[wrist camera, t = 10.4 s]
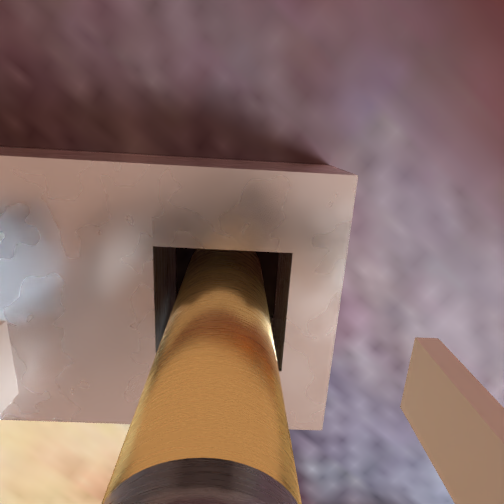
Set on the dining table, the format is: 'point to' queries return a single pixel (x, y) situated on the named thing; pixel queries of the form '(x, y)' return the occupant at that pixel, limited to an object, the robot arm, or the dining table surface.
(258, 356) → the lynch pin
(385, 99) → the dining table surface
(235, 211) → the block
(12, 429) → the dining table surface
